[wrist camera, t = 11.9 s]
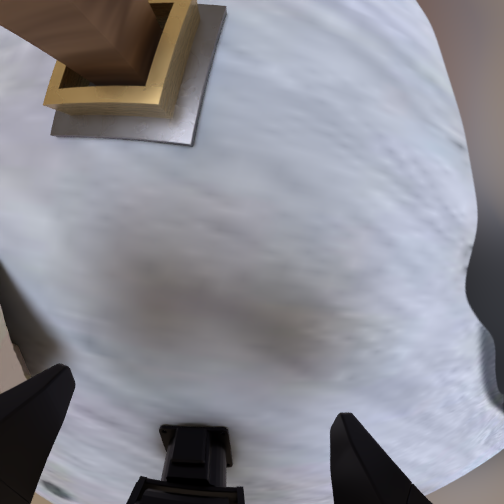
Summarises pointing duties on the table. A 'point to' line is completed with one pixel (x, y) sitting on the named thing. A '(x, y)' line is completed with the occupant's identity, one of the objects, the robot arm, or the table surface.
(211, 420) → the table surface
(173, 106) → the gold square frame
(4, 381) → the wall
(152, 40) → the rail post
